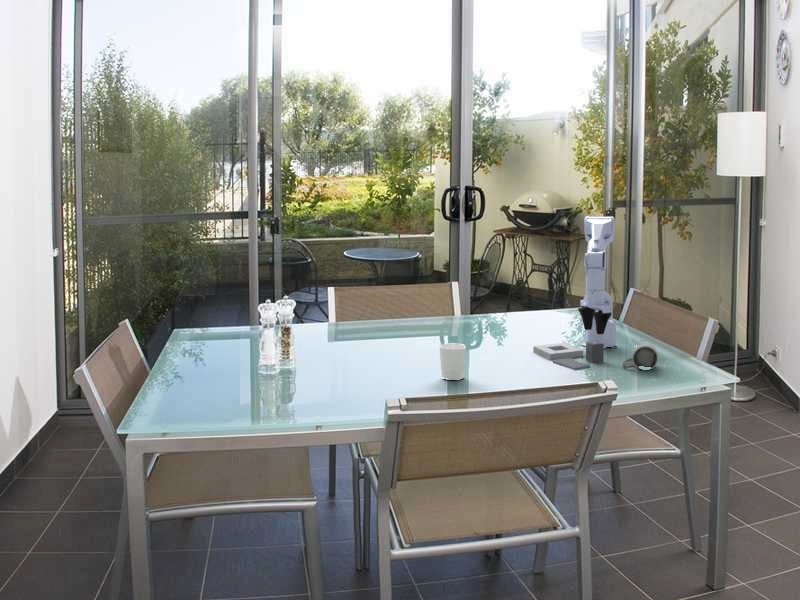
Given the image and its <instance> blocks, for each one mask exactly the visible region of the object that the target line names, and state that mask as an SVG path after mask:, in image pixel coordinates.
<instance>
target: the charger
mask: <svg viewBox="0 0 800 600" xmlns="http://www.w3.org/2000/svg"><path fill="white" fill-rule="evenodd" d="M585 343H586V347H585V361H586V362H589V363H590V364H599V362H600V363H604V349H605V348H604V344H603V343H601V342H598V341H594V342H585Z"/></svg>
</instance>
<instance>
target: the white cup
mask: <svg viewBox="0 0 800 600" xmlns="http://www.w3.org/2000/svg"><path fill="white" fill-rule="evenodd" d="M466 354H467V345H465V344H464V343H460V342H459V343H457V342H450V343H449V342H448V343H443V344H440V345H439V357H440V359H439V360H440V370H441V378H442V377H444V378H447V379H454V380H456V379H462V378H464V379H465V373H466V372H465V371H466V356H467V355H466Z"/></svg>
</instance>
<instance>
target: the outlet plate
mask: <svg viewBox="0 0 800 600" xmlns="http://www.w3.org/2000/svg"><path fill="white" fill-rule="evenodd" d="M532 351H533V353H535V354H537V355H539V356H541V357H543V358H545V359H547V360H550V361H553V360H558V359H564V358H570V359H574V358H579V357H580V358H581V357H584V349H582V348H579V347H577V346H574V345H572V344H569V343H567V342H560V343H552V344H540V345H533V350H532Z"/></svg>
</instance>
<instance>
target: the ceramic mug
mask: <svg viewBox="0 0 800 600" xmlns="http://www.w3.org/2000/svg"><path fill="white" fill-rule="evenodd" d="M658 362H659V355H658V351H657V349H656V347H655V346H654V345H652V344H650V343H648V342H646V343H645V342H644V343H640V344H639V345H636V347H635V348H634V350H633V353H632V355H631V357H629V358H626V359H625V360H623V361H622V362H621V364H622V367H623V366H625V367H624V368H630V367H633V366H634V367H635V368H636V369H638V368H639V366H644V367H651V370H653V369H654V368H655V367H657V364H658Z"/></svg>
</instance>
